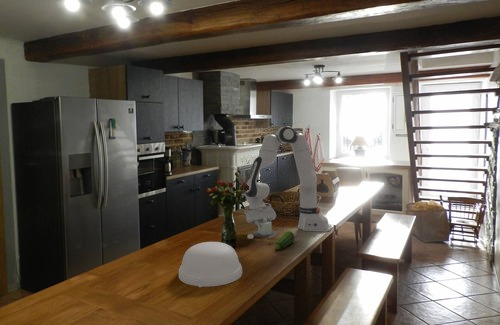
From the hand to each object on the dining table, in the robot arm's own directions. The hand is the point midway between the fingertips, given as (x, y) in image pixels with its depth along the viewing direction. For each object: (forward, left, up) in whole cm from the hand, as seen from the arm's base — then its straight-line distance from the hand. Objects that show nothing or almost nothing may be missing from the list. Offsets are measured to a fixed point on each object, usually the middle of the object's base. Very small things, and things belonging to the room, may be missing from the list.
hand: (265, 226), depth 248 cm
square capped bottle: (0, 0, -5) cm, 5 cm away
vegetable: (-18, +19, -6) cm, 27 cm away
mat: (0, 0, -5) cm, 5 cm away
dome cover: (+2, +70, -6) cm, 70 cm away
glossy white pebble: (+5, +12, -6) cm, 14 cm away
